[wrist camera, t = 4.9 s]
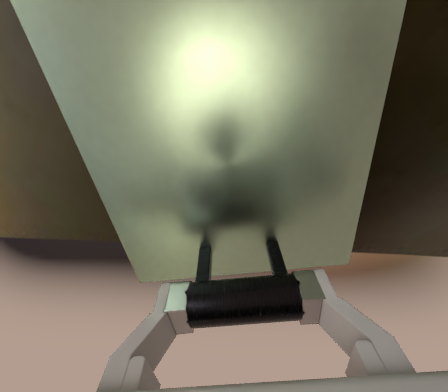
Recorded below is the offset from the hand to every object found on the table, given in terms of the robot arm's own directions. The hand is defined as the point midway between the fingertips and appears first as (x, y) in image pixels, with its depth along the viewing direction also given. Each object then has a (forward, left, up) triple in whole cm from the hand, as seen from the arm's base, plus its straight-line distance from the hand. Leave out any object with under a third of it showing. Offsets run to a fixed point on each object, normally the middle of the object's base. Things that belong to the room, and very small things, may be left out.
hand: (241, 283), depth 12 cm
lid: (0, -6, -3) cm, 6 cm away
